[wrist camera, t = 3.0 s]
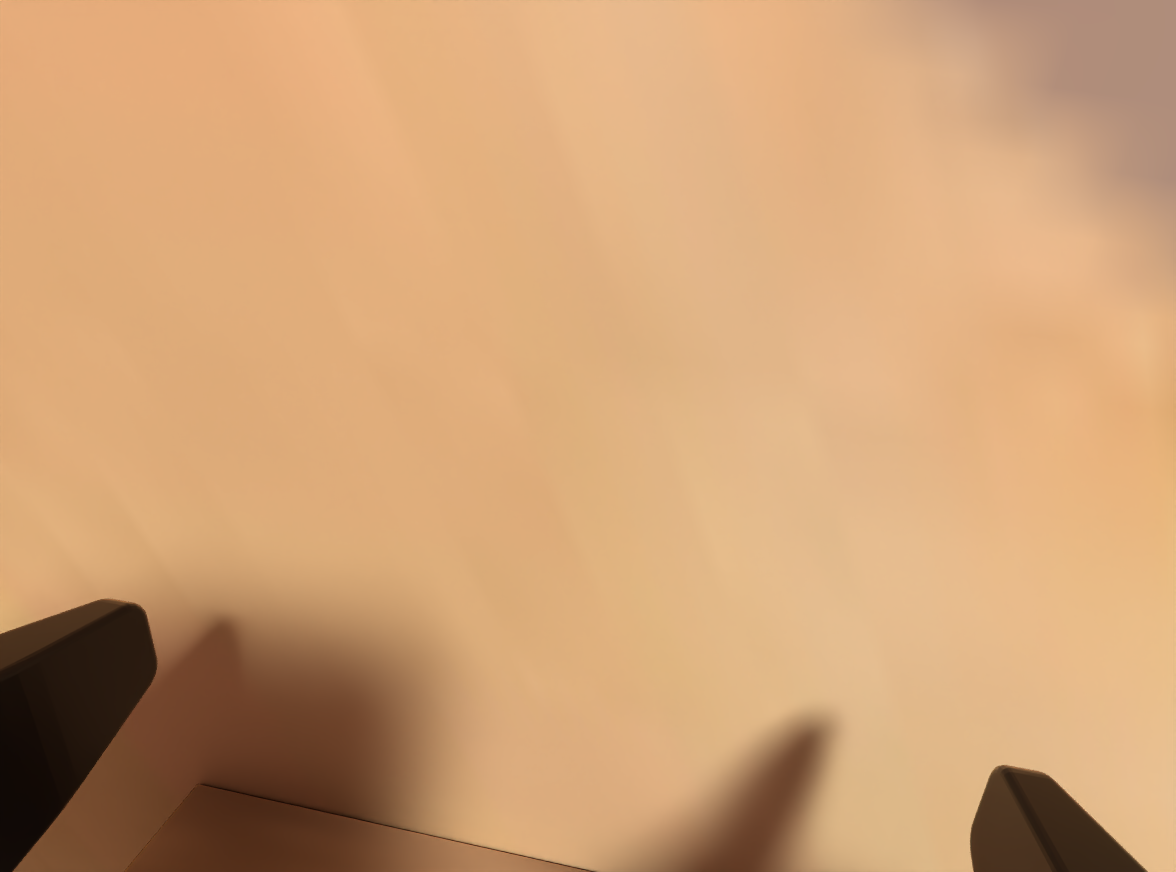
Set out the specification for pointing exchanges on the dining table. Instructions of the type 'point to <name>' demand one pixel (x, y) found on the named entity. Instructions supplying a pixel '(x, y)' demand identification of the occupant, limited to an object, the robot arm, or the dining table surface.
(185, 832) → the board
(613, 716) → the dining table surface
